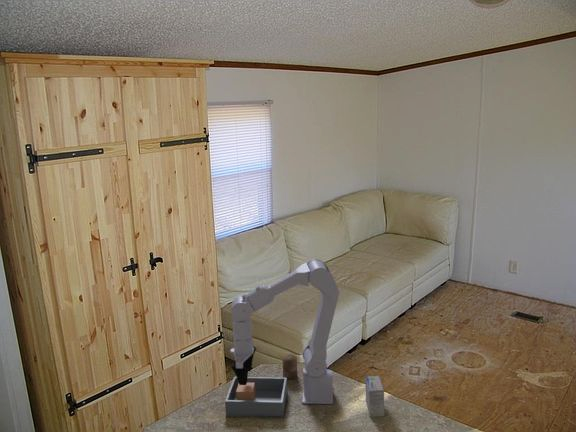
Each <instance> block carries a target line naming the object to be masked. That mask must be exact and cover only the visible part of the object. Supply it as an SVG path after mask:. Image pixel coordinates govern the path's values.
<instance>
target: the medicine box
mask: <svg viewBox="0 0 576 432" xmlns="http://www.w3.org/2000/svg"><path fill="white" fill-rule="evenodd" d="M365 403H366V407H367V411H368V414H369V417H370V418H373V417H374V418H375V417H377V418H379V417H385V389H384V386H383V382H382V380H381V377H380V376H378V375H375V376H374V375H371V376H370V375H369V376H365Z"/></svg>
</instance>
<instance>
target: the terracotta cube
mask: <svg viewBox="0 0 576 432" xmlns="http://www.w3.org/2000/svg"><path fill="white" fill-rule="evenodd" d="M236 398H237V400H247V401H255V383H247V384H246V385H239V384H238V387H237V390H236Z"/></svg>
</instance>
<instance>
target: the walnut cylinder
mask: <svg viewBox="0 0 576 432" xmlns="http://www.w3.org/2000/svg"><path fill="white" fill-rule="evenodd" d="M281 362H282V378H287V382H291V380H292V381H294V380H297V379H298V357H297V355H296V354H291V353H290V354H289V353H288V354H284V355H283V356H282V358H281Z"/></svg>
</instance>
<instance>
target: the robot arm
mask: <svg viewBox="0 0 576 432" xmlns="http://www.w3.org/2000/svg"><path fill="white" fill-rule="evenodd" d="M298 285H300V286H304V287H310V285H311V286H312V287H313V288H315V289H316V290H318V291H319V292H320V293H321V296H320V299H319V302H318V303H319V304H318V307H317V312H316V316H315V321H314V325H313V330H312V334H311V338H310V339H309V340H308V342H307V345H306V347H305V348H304V349H303V351H302V357H303V359H304V363H305V365H304V367H303V369H302V372H303V373H302V375H303V391H302V398H301V399H302V400H301V403H302V404H312V405H314V404H316V405H317V404H319V405H333V404H334V394H335V388H334V380H333V379H334V378H333V377H334V374H333V370H332V369H327V368H328V366H327V365H328V364H327V344H328V340H329V337H330V332H331V328H332V324H333V320H334V317H335V312H336V308H337V305H338V300H339V296H340V290H339V288H338V285H337V283H336V280H335V278H334V276H333V274H332V272H331V271H330V268H329V267H328V266H327V265H326V264H325V262H324V261H323V260H321V259H318V258H314V259H313V258H312V259H311V260H309V261H308V262H305V263H302V264H301V265H300V266H298V267H297V268H295V269H294V270H292V271H291V272H290V273H288V274H286V275H284V276H283V277H281V278H279V280H277V281H276V282H274V283H271V285H265V284H263V285H261V286H260V285H257V286H255V289H254V290H252V291H250V292H248V293H246V294H245V293H244V294H242V295H241V296H237V297H236V298H234V299H233V300H232V301H231V305H230V308H231V309H230V313H231V316H232V317H231V318H232V319H231V321H232V326H231V327H232V339H233V348H230V351H229V352H230V354H233V355H234V359H235V361H234V362H232V363H231V370H232V371H233V372H234V374H235V377H237V379H238V382H239V385H246V384H247V378H248V377H249V372H251V371H252V366H253V359H254V355H255V353H256V350H257V348H256V346H254V342H253V329H252V328H253V327H252V320H251V316H252V314H253V313H256V312H257V311H260V310H261V309H262V308H264V307H266V306H268V305H270V304H271V303H273V302H274V299H275V297H277V295H280V294H282V293H285V292H287V291H288V290H290V289H292V288H294V287H296V286H298Z"/></svg>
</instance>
